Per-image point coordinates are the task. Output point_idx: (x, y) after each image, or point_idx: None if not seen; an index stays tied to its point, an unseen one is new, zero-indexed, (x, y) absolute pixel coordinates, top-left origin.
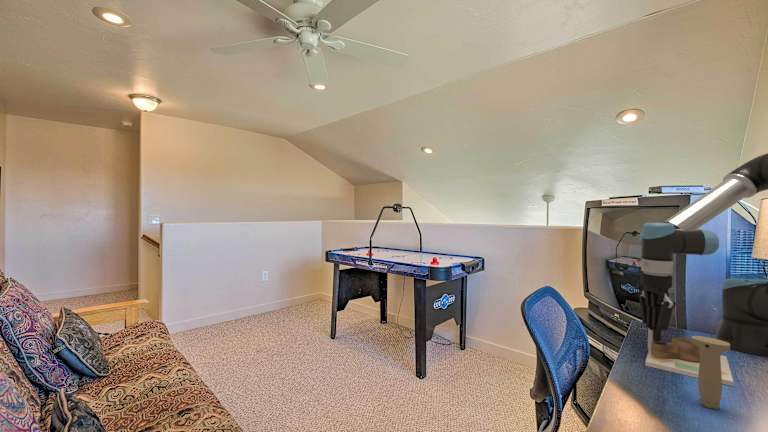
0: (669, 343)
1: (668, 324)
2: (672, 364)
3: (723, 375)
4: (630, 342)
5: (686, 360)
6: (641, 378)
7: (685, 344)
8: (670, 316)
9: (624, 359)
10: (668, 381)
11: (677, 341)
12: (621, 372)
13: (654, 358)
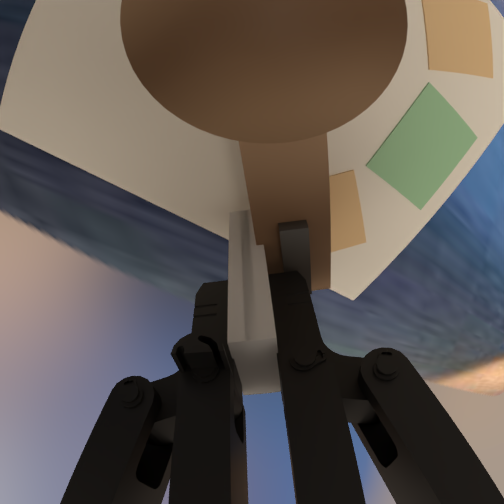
0: (271, 174)
1: (446, 414)
2: (390, 198)
3: (496, 42)
4: (18, 214)
5: None
6: (436, 332)
7: (375, 95)
8: (501, 500)
9: None
10: (470, 274)
11: (304, 126)
12: None
13: None
